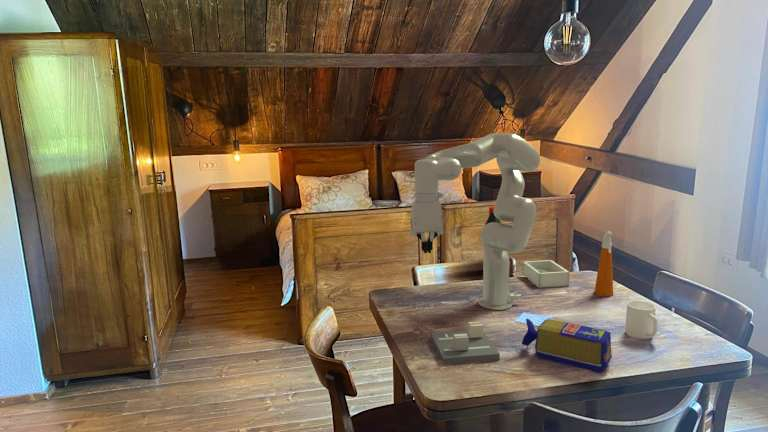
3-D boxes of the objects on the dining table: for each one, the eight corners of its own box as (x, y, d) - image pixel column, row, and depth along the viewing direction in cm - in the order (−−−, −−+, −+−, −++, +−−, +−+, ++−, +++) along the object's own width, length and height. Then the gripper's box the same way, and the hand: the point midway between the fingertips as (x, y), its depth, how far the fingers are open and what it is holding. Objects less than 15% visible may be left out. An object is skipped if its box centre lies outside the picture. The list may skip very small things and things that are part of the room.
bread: (604, 376, 148) (606, 342, 146) (518, 354, 162) (519, 322, 160) (613, 362, 156) (615, 329, 154) (530, 342, 170) (531, 312, 168)
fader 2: (480, 333, 172) (480, 320, 171) (483, 337, 169) (483, 324, 168) (468, 334, 172) (468, 321, 171) (470, 338, 169) (470, 325, 168)
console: (481, 335, 176) (481, 329, 176) (499, 360, 159) (499, 353, 158) (430, 338, 174) (430, 332, 174) (443, 364, 157) (443, 358, 156)
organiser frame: (550, 272, 239) (550, 259, 238) (568, 285, 222) (569, 271, 221) (522, 274, 238) (522, 261, 237) (538, 287, 220) (539, 273, 219)
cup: (641, 328, 179) (644, 299, 177) (667, 343, 167) (669, 312, 165) (619, 330, 177) (621, 301, 175) (643, 346, 166) (646, 315, 164)
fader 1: (465, 345, 164) (466, 332, 163) (468, 349, 161) (468, 336, 160) (453, 346, 163) (453, 333, 162) (455, 350, 160) (455, 337, 159)
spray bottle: (597, 299, 206) (601, 232, 201) (592, 290, 216) (596, 226, 211) (616, 300, 204) (621, 233, 199) (611, 291, 215) (615, 227, 209)
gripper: (446, 194, 178) (446, 248, 181) (401, 196, 176) (402, 250, 180) (452, 198, 170) (452, 254, 174) (405, 200, 169) (406, 256, 172)
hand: (426, 252), depth 177 cm, fingers closed
